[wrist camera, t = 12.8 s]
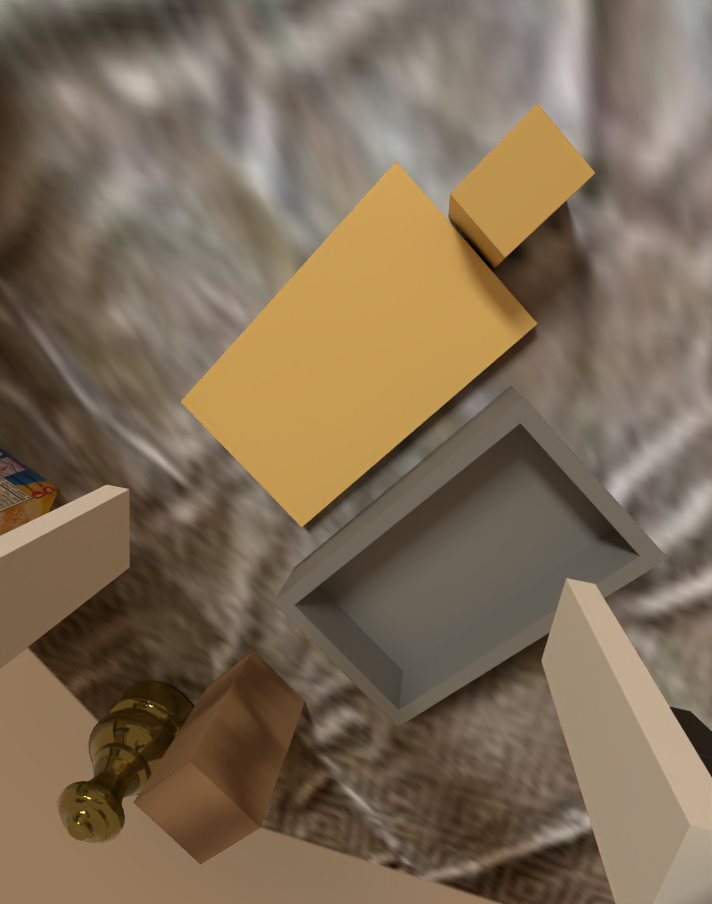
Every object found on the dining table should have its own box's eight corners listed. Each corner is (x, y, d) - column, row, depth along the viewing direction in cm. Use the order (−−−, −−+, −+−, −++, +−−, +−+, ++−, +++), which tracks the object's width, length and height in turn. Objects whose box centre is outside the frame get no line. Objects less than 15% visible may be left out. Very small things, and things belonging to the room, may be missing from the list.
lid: (188, 399, 33) (145, 412, 28) (470, 86, 25) (477, 30, 20) (305, 521, 34) (283, 554, 29) (612, 255, 26) (651, 240, 21)
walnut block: (207, 686, 39) (133, 802, 30) (253, 650, 37) (190, 761, 28) (257, 734, 40) (200, 864, 30) (305, 701, 38) (260, 827, 28)
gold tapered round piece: (141, 751, 43) (56, 874, 33) (110, 683, 41) (10, 791, 32) (212, 744, 41) (143, 871, 31) (181, 673, 39) (100, 784, 30)
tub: (293, 568, 35) (273, 602, 30) (510, 386, 29) (523, 396, 24) (402, 678, 36) (397, 727, 31) (634, 524, 30) (668, 558, 25)
